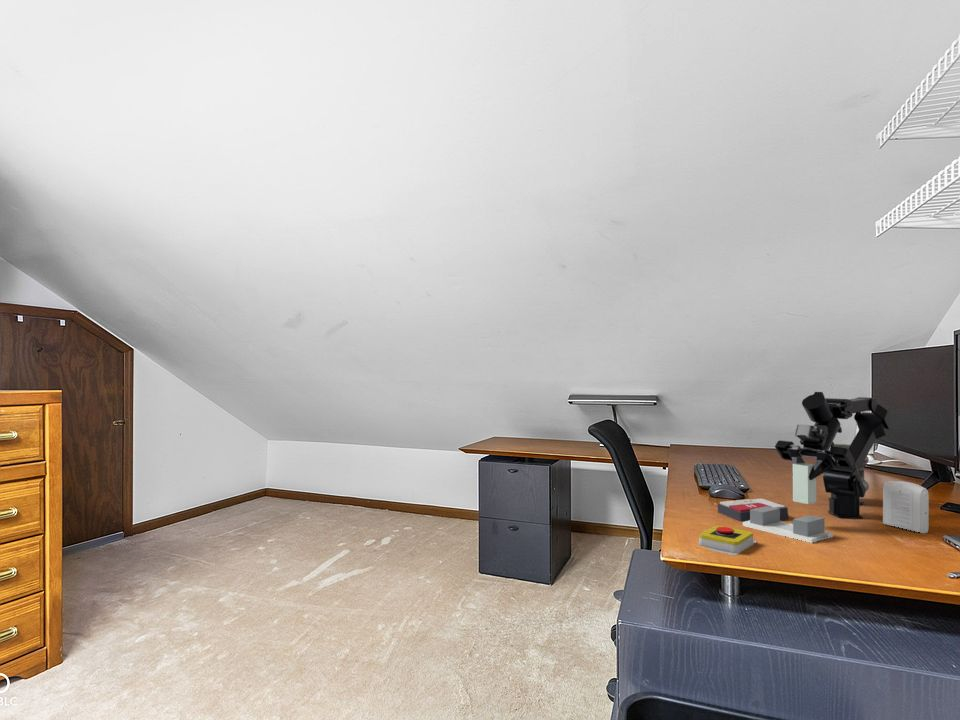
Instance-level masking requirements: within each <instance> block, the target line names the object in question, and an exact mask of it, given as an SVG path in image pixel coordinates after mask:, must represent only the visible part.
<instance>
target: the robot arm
mask: <svg viewBox="0 0 960 720" xmlns="http://www.w3.org/2000/svg"><path fill="white" fill-rule="evenodd" d="M801 406H802V407H803V408H804V410H805V412H806V415H807V416H808V418H809V420H810V421H811V422H813V423H814V425H808V424H797V425H796V429H795V433H794V437H796V438H798V439H799V443H800V445H802V446H800V445H797V444H795V443H794V442H793V441H790V440H789V441H788V440H777V442H775V445H774V448H775V450H776V451H777V453H778V454H779V456H780V458H781V459H782V460H785V461H792V462H791V476H792V477H793V464H795V463H806V462H805V461H804V457H808V458H816V460H815V462H814V463H813V464H814V466H813V468H812V470H811V472H810V475H809V479H810V480H813V479H814V478H816V479H817V477H819V476H821V475H822V474H823V477H822V480H823V485H824V489H825V493H830V497H831V498H830V497H829V498H828V499H829V500H828V505H829V506H828V507H829V510H827V513H829V514H831V515H833V516H835V517H837V518H843V519H845V518H846V519H863V518H864V517H863V515H861V514H860V505H859V499H860V498H865V496H866V492H865V490H866V489H865V487H864V485H863V483H862V481H861V478H860V475H859V472H858V471H859V469H860V467H861V465H862V464H863V462H864V460H865V458H866V456H867V457H868V455H869V453H870V451H871V450H872V447H873V445H874V444H875V443H876V441H877V440H878V439H880V438H884V437H886V435H887V434H888V433H889V432H890V431H891V429H892V428H893V425H894V421H893V418H892V416H891V414H890V412H889V410H887V408H885V407H883V406H882V405H880V404H879V403H878V401H877V400H876V398H873V397H865V396H862V397H861V396H859V397H856V398H851V399H849V398H831V397H825V394H824V393H823V391H814V392H813V394H810V395H807V396H805V398H803V400H802V402H801ZM853 414H854V415H853ZM853 416H854V417H853ZM852 417H853V418H854V419H853V420H854V421H855V422H856V425H857V428H858V431H857V432H856V434H855V436H854V438H853V440H852V441H851V443H850V444H849V445H850V446H849V448H847V447H838V446H834V445H835V444H836V443H834V440H835V438H836V435H837V434H838V433H839V434H841V433H842V432H843V428H842V425H841V422H840V420H848V419H849V418H852ZM853 491H854V492H853Z"/></svg>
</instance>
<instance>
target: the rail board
mask: <svg viewBox="0 0 960 720" xmlns="http://www.w3.org/2000/svg"><path fill="white" fill-rule="evenodd" d="M742 526H743V527H746V528H750V529H754V530H758V531H763V532H765V533H769V534H774V535H777V536H781V537H785V536H786V538H790V539H793V538H794V539H793V540H797V539H798V541H801V540H802V541H801V542H805V541H806V542H805V543H809V542H810V543H809V544H814V543H817V541H818V542H821V541H824V539H825V540H828V539H831V538H834V533H833V532H830V531H826V526H825V517H820V516H816V515H812V514H809V515H806V516H801V517H797V518H793V519H792V523H791V522H788V521H787V522H786V521H784V520H780V509H779V508H774V507H769V506H765V507H761V508H756V509H751V510H750V520H748V521H745V522H742ZM830 537H831V538H830ZM827 538H828V539H827ZM820 540H821V541H820ZM813 542H814V543H813Z"/></svg>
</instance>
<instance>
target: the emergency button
mask: <svg viewBox="0 0 960 720" xmlns="http://www.w3.org/2000/svg"><path fill="white" fill-rule="evenodd" d="M698 536H699V539H698V544H699V545H700V546H705V547H707V548H706V549H708V548H709V550H708V551H710V550H712V551H711V552H715V551H716V552H715V553H721V554H725V555H729V556H738V555H740V554H741V553H743V552H744V551H746V550H747V549H749V548H751V547H752V546H754V545H755V544H756V543H757V541H756V540H754V533H753V532H752V531H748V530H744V529H737V528H734V527H729V526H728V527H727V526H723V525H722V526H721V525H715V526H712V527H710V528H709V529H707V530H705V531H702V532H701V533H699V535H698ZM754 543H755V544H754ZM753 544H754V545H753ZM750 546H751V547H750ZM748 547H749V548H748ZM706 549H705V550H706ZM745 549H746V550H745ZM742 551H743V552H742Z"/></svg>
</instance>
